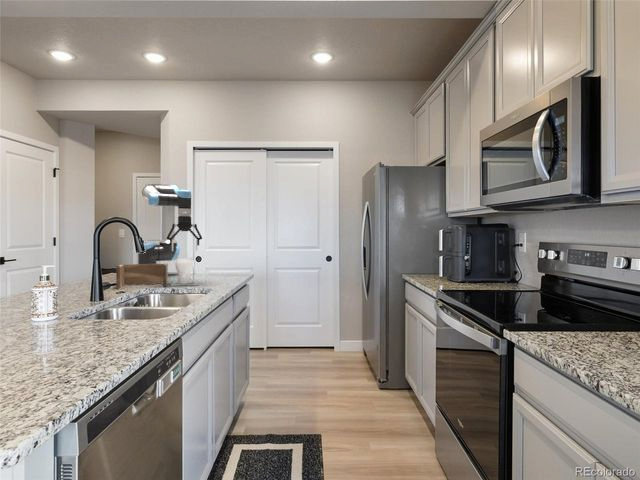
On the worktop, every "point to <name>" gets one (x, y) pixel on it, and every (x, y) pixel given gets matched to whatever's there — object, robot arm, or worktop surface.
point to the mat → (185, 284)
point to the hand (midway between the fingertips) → (184, 251)
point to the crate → (141, 274)
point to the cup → (184, 269)
